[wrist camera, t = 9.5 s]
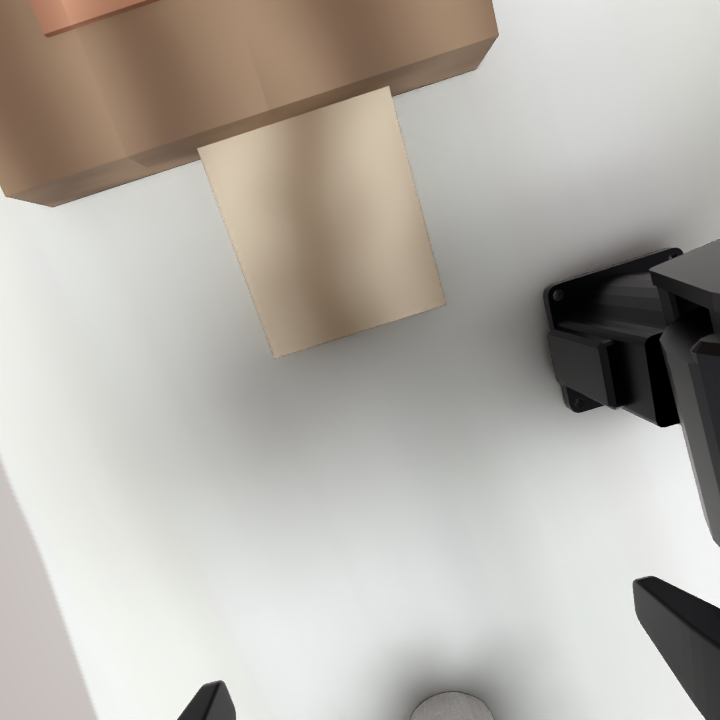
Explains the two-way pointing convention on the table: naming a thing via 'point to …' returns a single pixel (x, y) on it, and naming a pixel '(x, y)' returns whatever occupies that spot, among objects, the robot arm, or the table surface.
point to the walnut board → (248, 133)
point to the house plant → (452, 708)
